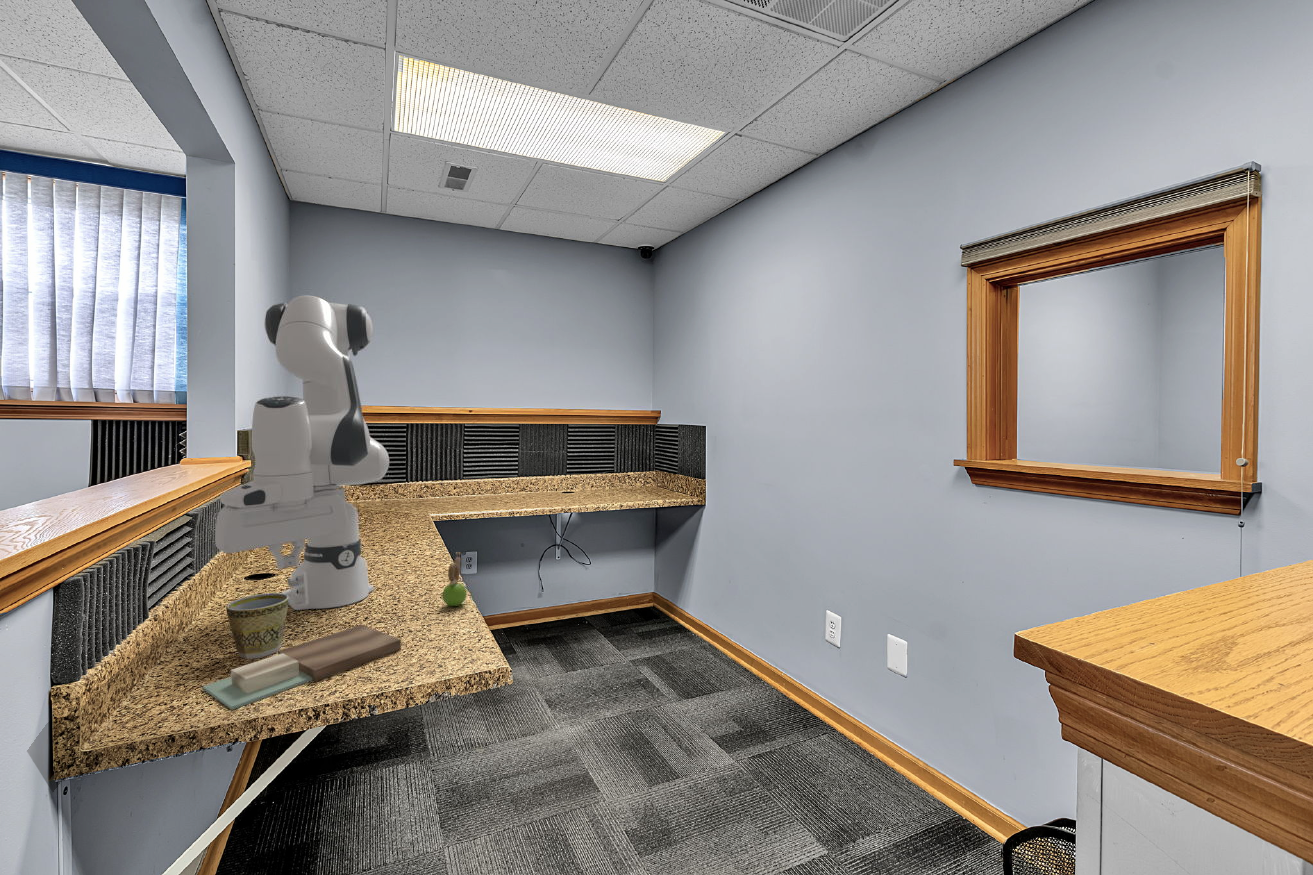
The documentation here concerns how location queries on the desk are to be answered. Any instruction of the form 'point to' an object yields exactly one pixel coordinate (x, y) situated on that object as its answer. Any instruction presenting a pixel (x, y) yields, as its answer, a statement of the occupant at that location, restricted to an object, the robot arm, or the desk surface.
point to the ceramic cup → (258, 623)
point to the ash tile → (264, 673)
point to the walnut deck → (341, 651)
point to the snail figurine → (454, 585)
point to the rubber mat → (238, 698)
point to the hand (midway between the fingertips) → (288, 566)
